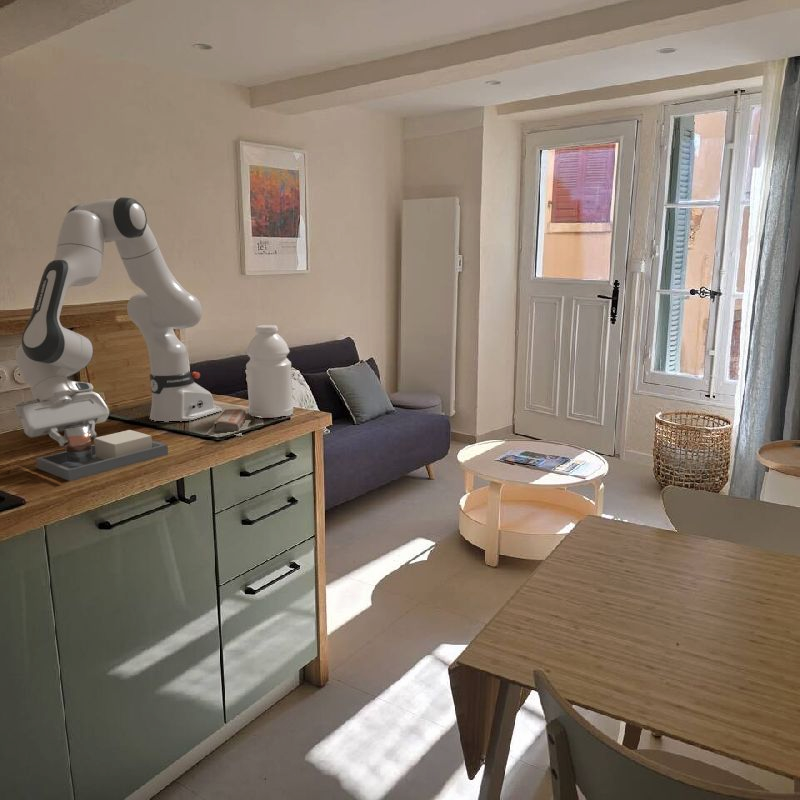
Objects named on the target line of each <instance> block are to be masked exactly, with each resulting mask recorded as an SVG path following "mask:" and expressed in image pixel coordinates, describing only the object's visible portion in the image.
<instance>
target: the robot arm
mask: <svg viewBox="0 0 800 800" xmlns="http://www.w3.org/2000/svg"><path fill="white" fill-rule="evenodd" d="M111 242H114V243H115V246H116V249H117V252H118V254H119V256H120V260H121V261H122V264H123V266H124V267H125V270H126V273H127V275H128V278H129V280H130V281H131V282H132V284H134V285H135V286H136V287H138V288H139V289H140V290H142V291H143V292H139V293H136V294H134V295H132V296H131V297H130V298H129V300H128V302H127V306H126V312H127V313H126V314H127V316H128V318H129V319H130V321H131V322H132V323H133V324H134V325H135V326H136V327H137V328H138V329H139V332H140V333H141V335H142V337H143V339H144V342H145V344H146V348H147V352H148V357H149V358H148V359H149V366H150V374H149V384H150V390H151V409H150V415H149V420H150V419H151V420H150V421H152V420H154V421H153V422H156V421H164V422H163V423H170V422H169V421H180V422H182V421H188V420H193V419H197V418H200V417H203V416H206V417H208V416H207V415H209V414H213V413H216V412H219V411H222V412H223V409H222V407H221V406H219V405H216V404H215V400H214V396H213V395H212V393H211V392H210V391H209V390H207V389H205V388H204V387H202V386H201V385H199V384H198V383H196V382H195V380H194V379H196V380H197V379H200V377H201V374H200V372H197V371H193V372H192V371H189V364H188V354H187V348H186V345H185V344H184V343H183V342H182V341H181V340H180V339H179V338H178V337H177V335H176V332H175V331H174V329H175V330H184V329H188V328H193V327H195V326H197V325H198V324H199V322H201V319H202V316H203V307H202V304H201V302H200V300H199V299H198V297H196V296H194V295H193V294H192V293H190V292H188V291H187V289H185V288H184V287H183V285H181V284H180V283H179V282H178V280H177V279H176V278H175V276H174V274H172V272H171V270H170V268H169V267H168V265H167V262H166V261H165V258H164V257H163V253H162V251H161V248H160V246H159V244H158V242H157V240H156V237H155V234H154V232H153V231H152V229H151V228H150V226H149V224H148V219H147V213H146V211H145V209H144V207H143V205H141V203H140V202H138V200H136V199H135V198H132V197H131V198H130V197H123V196H122V197H119V198H105V199H104V198H103V199H99V200H95V201H91V202H87V203H80V204H76V205H74V206H72V207H71V208H70V209H69V210H68V212H67V213H66V214H65V216H64V218H63V221H62V223H61V226H60V229H59V233H58V238H57V242H56V247H55V248H56V250H55V255H54V258H53V260H52V261H50V262H48V264H47V265H46V266H45V268H44V270H43V273H42V276H41V278H40V283H39V285H38V290H37V293H36V297H35V301H34V303H33V308H32V311H31V315H30V317H29V320H28V322H27V324H26V326H25V327H24V330H23V332H22V335H21V344H20V345H19V346H18V347H17V349H16V350H15V361H16V364H17V365H16V366H17V367H18V370H19V372H20V374H21V376H22V378H23V380H24V382H25V383H26V385H28V387H30V392H31V395H32V397H33V398H34V399H32V400H28V401H20V402H18V404H17V405H16V406H14V412H15V414H16V416H17V417H18V418H20V423H21V426H22V429H23V432H24V434H25V435H26V436H28V437H29V438H34V437H40V436H44V435H49V437H50V439H53V440H54V441H56V442H58V444H59V446H60V447H64V446H65V447H66V445H67V444H68V439H67V437H66V436H64V435H62V434H60V433H59V432H64V428H65V427H67V426H70V425H77V424H86V425H89V430H90V437H91V440H94V439H95V438H97V437H98V436H97V432H96V431H95V428H96V427H95V426H96V424H101V423H105V422H106V421H107V419H108V418H109V415H110V408H109V407H108V404H106V402H105V400H104V399H103V398H102V396H101V395H100V394H99V393H97V392H95V391H94V386H93V384H92V383H90V382H84V381H75V380H71V379H68V377H71V376H73V375H76V374H77V373H79V372H81V371H82V370H83V369H85V368H86V367H87V366H88V365H89V364H90V363H91V362H92V359H93V356H94V346H93V343H92V341H91V340H90V339H89V338H88V337H86V336H84V335H82V334H80V333H78V332H76V331H73V330H71V329H68V328H66V327H64V326H62V323H61V320H60V316H61V312H62V310H63V309H62V308H63V304H64V301H65V296H66V292H67V291H68V290H69V289H70V288H72V287H83V286H84V287H85V286H87V285H90V284H92V283H94V282H95V281H96V280H97V279H99V277H100V274H101V272H102V268H103V259H104V247H105V243H111ZM219 413H220V412H219ZM216 414H217V413H216ZM213 415H214V414H213ZM203 418H204V417H203ZM200 419H201V418H200ZM197 420H198V419H197Z"/></svg>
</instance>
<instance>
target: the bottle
mask: <svg viewBox="0 0 800 800" xmlns="http://www.w3.org/2000/svg"><path fill="white" fill-rule="evenodd" d="M277 332H279V328H278V325H275V324H262V325H260V324H259V325H257V326H256V327H255V333H257V334H255V336H254V337H253V338H252V339H251V340H250V342H249V344H248V346H247V350H246V352H245V353H246V355H247V356H248V358H249V360H248V361H247V363H246V365H245V369H246V381H247V382H246V383H247V395H248V413H249V415H250V414H251V415H254V416H261V417H280V416H286V417H289V416H291V415H292V414H294V401H293V380H292V379H293V378H292V360H291V361H290V360H289V358H287V356H288V355H289V354H290V351H291V350H290V349H289V346H288V344H287V342H286V340H285V339H284V338H283V337H282V335H280V334H278V333H277Z"/></svg>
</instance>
